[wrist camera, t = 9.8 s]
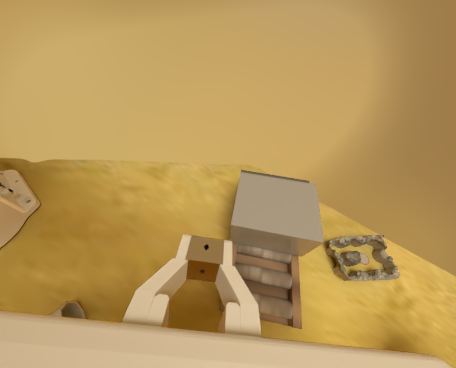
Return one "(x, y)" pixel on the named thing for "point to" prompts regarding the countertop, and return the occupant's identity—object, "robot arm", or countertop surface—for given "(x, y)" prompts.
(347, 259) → the egg carton
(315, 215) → the grey cardboard box
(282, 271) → the roller bed
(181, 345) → the robot arm
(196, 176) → the countertop surface
